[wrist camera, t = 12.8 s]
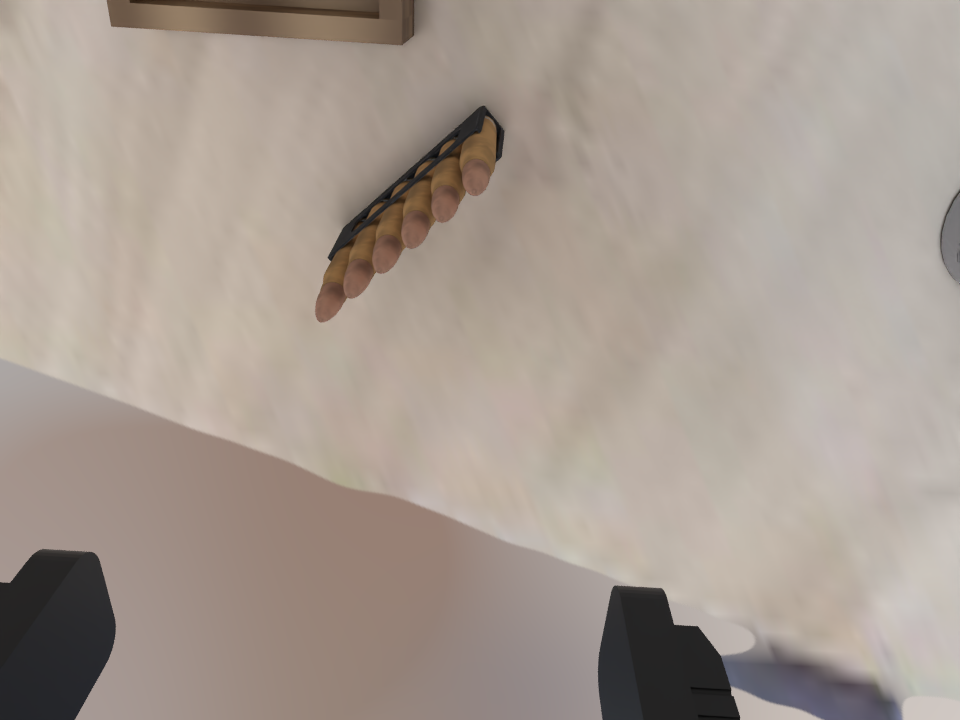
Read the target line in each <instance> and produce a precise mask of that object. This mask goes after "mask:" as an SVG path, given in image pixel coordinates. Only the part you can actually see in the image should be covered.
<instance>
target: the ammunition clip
mask: <svg viewBox="0 0 960 720" xmlns="http://www.w3.org/2000/svg"><path fill="white" fill-rule="evenodd" d="M503 140H504V130H503V129H502V127H501V126H500V125H499V124H498V122H497V121H496V120H495V119H494V117H493V116H492V115H491V114H490V113H489V111H488V110H487V109H486V108H485V106H482V107H480V108H479V109H477V110H476V111H475V112H474V113H473V114H472V115H471V116H470V117H468V118H467V119H466V120H465V121H464V122H463V123H462V124H460V125H459V126H458V127H457V128H456V129H455V130H454V131H453V132H451V133H450V134H449V135H448V136H447V137H446V138H445V139H443V140H442V141H441V142H440V143H439V144H438V145H437V146H436V147H434V148H433V149H432V150H431V151H430V152H429V153H428V154H427V155H425V156H424V157H423V158H422V159H421V160H420V161H419V162H417V163H416V164H415V165H414V166H413V167H412V168H411V169H410V170H408V171H407V172H406V173H405V174H404V175H403V176H402V177H401V178H399V179H398V180H397V181H396V182H395V183H394V184H393V185H391V186H390V187H389V188H388V189H387V190H386V191H385V192H384V193H382V194H381V195H380V196H379V197H378V198H377V199H376V200H374V201H373V202H372V203H371V204H370V205H369V206H368V207H367V208H365V209H364V210H363V211H362V212H361V213H360V214H359V215H358V216H356V217H355V218H354V219H353V220H352V221H351V222H350V223H348V224H347V225H346V226H345V227H344V228H343V230H342V232H341V233H340V235H339V237H338V239H337V241H336V243H335V245H334V247H333V249H332V250H331V252H330V254H329V256H328V259H329V260H330V261H331V263H330V265H329V267H328V268H327V270H326V272H325V274H324V278H323V285H322V287H321V291H320V293H319V295H318V298H317V301H316V309H315V313H316V318H317V320H318V321H319V322H326V321H328V320H330V319H331V318H332V317H333V316H334V315H336V314H337V312H338V311H339V310H340V308H341V307H342V305H343V303H344V302H345V300H346V299H347V297H348V298H355V297H357V296H358V295H360V294H361V293H362V292H363V291H364V290H365V289H366V288H367V286H368V285H369V283H370V281H371V279H372V278H373V276H374V274H375V273H376V272H377V273H380V274H382V273H385V272H387V271H389V270H390V269H391V268H392V267H393V266H394V265H395V263H396V262H397V260H398V258H399V256H400V254H401V252H402V250H403V249H405V248H406V247H407V248H410V249H412V248H416V247H417V246H419V245H420V244H421V243H422V242H423V241H424V239H425V238H426V236H427V234H428V231H429V229H430V227H431V226H432V225H433V224H434V222H435V221H436V220H437V221H438V222H441V223H444V222H447V221H449V220H450V219H451V218H452V217H453V216H454V214H455V213H456V211H457V209H458V205H459V204H460V202H461V201H462V199H463V197H464V196H465V192H466V191H467V192H468V193H469V194H470V195H473V196H477V195H479V194H481V193H482V192H483V191H484V190H485V189H486V187H487V185H488V183H489V179H490V176H491V175H492V173H493V172H494V168H495V162H496V161H498V160H499V159H500V158H501V157H502V149H503Z"/></svg>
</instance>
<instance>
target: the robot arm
mask: <svg viewBox="0 0 960 720" xmlns="http://www.w3.org/2000/svg"><path fill="white" fill-rule="evenodd" d="M941 250H942V254H943V259H944V263H945V265H946V267H947V269H948V271H949V273H950V274H951V276H952V277H953V278H954V279H955V280H956V281H957V282H958V283H959V284H960V193H959V194H958V196H957V197H956V199H955V200H954V202H953V204H952V206H951V208H950V210H949V212H948V214H947V216H946V220H945V224H944V227H943V231H942V245H941ZM115 628H116V624H115V617H114V614H113V610H112V606H111V602H110V599H109V595H108V591H107V587H106V583H105V579H104V576H103V572H102V568H101V564H100V561H99V558H98V557H97V555H96V554H95V553H93V552H82V551H65V550H49V549H42V550H39V551H37V552H36V553H34V554H33V555H32V556H31V557H30V558H29V560H28V561H27V562H26V563H25V565H24V566H23V567H22V569H21V570H20V571H19V572H18V574H17V575H16V576H15V578H14V579H13V580H12V581H11V582H10V583H1V582H0V720H75V718H76V716H77V715H78V713H79V711H80V709H81V707H82V706H83V704H84V702H85V700H86V699H87V697H88V695H89V693H90V691H91V689H92V688H93V686H94V684H95V683H96V681H97V679H98V677H99V676H100V674H101V672H102V670H103V668H104V667H105V665H106V663H107V661H108V659H109V657H110V654H111V651H112V648H113V644H114V639H115V630H116V629H115ZM598 683H599V684H598V685H599V696H600V703H601V711H602V718H603V720H740V715H739V712H738V709H737V706H736V703H735V699H734V697H733V696H732V695H731V687H730V684H729V680H728V677H727V674H726V671H725V668H724V665H723V662H722V658H721V656H720V654H719V653H718V652H717V651H716V649H715V648H714V647H713V646H712V644H711V643H710V641H709V640H708V639H707V638H706V636H705V635H704V634H703V632H702V631H701V630H700V629H699V627H698V626H682V625H674V623H673V619H672V616H671V612H670V608H669V604H668V600H667V597H666V594H665V592H664V590H663V589H662V588H647V587H630V586H614V587H613V589H612V592H611V596H610V601H609V606H608V611H607V616H606V621H605V626H604V631H603V636H602V641H601V647H600V652H599V662H598Z"/></svg>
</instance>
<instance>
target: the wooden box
mask: <svg viewBox="0 0 960 720" xmlns="http://www.w3.org/2000/svg"><path fill="white" fill-rule="evenodd" d="M107 4H108V10H109V16H110V22H111V26H112V27H128V28H144V29H159V30H175V31H190V32H206V33H221V34H237V35H252V36H268V37H284V38H299V39H315V40H330V41H346V42H361V43H377V44H392V45H403V44H404V43H405V42H406V41H408V40H409V39H410V38H411V37H412V36H413V35H414V0H107Z"/></svg>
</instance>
